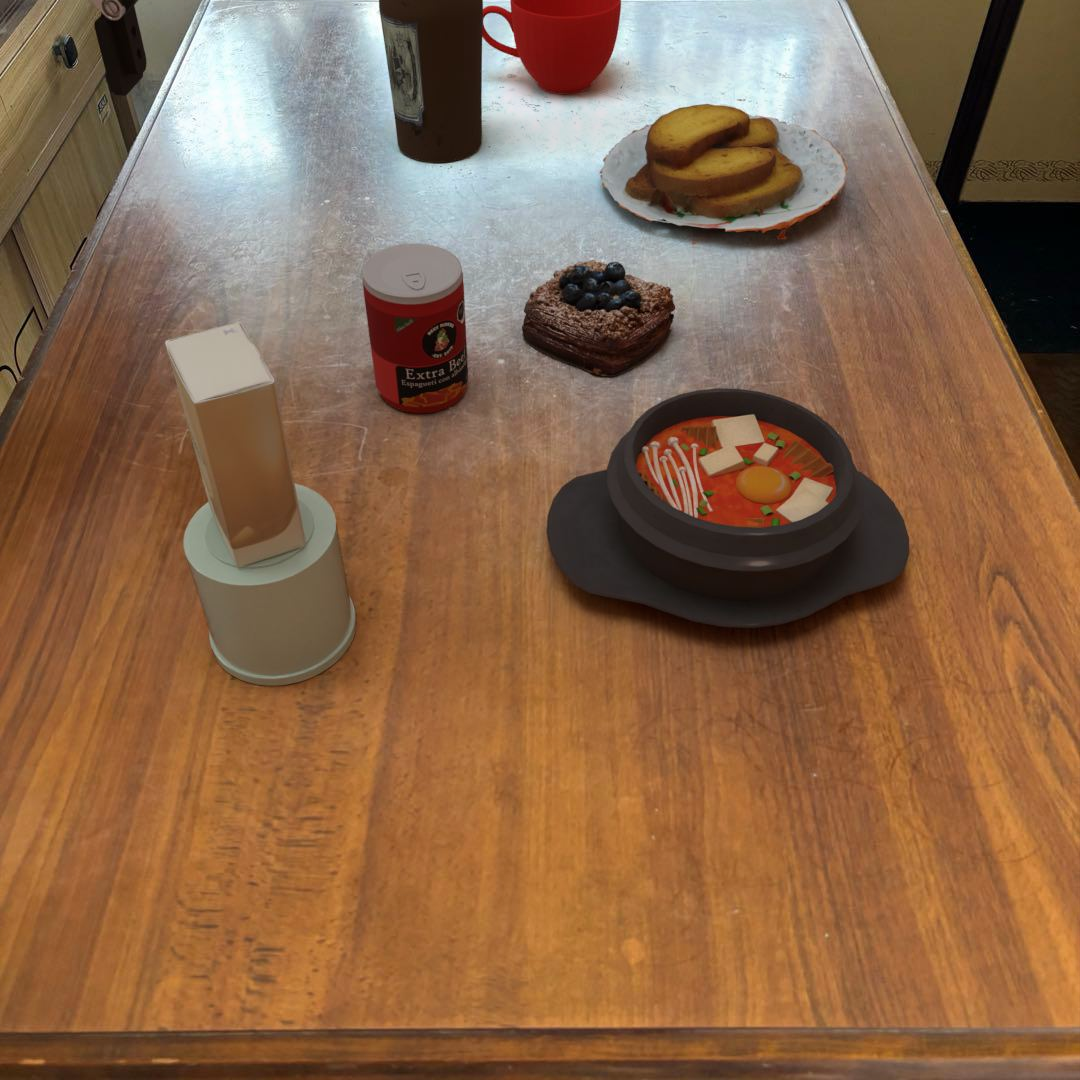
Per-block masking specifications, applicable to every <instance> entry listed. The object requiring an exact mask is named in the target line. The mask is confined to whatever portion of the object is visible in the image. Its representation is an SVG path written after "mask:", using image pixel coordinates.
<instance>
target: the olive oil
mask: <svg viewBox="0 0 1080 1080" xmlns="http://www.w3.org/2000/svg"><path fill="white" fill-rule="evenodd" d="M483 9H484V0H378V10H379V16H380V23H381V30H382V37H383V43H384V51H385V56H386V57H385V58H386V65H387V70H388V71H387V73H388V79H389V86H390V94H391V101H392V109H393V115H394V124H395V132H396V140H397V141H396V142H397V146H398V149H399V150H400V152H401V153H402V154H404V155H405V156H407V157H408V158H411V159H413V160H416V161H420V162H426V163H427V162H428V163H449V162H455V161H459V160H462V159H463V160H464V159H466V158H468V157H471V156H472V155H474V154H475V153H477V152H478V151H479V149H480V148H481V147H482V144H483V127H482V126H483V120H482V119H483V117H482V114H483V113H482V111H483V109H482V108H483V106H482V105H483V104H482V100H483V99H482V98H483V97H482V96H483V95H482V94H483V93H482V92H483V90H482V89H483V86H482V84H483V83H482V82H483V37H482V28H483V24H484V19H483Z"/></svg>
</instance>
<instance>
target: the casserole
mask: <svg viewBox="0 0 1080 1080" xmlns="http://www.w3.org/2000/svg"><path fill="white" fill-rule="evenodd" d="M546 519H547V521H546V539H547V541H548V545H549V550H550V554H551V556H552V557H553V559H554V561H555V563H556V565H557V567H558V569H559V570H560V571H561V573H562V574H563V575H564V576H565V577H566V578H567V580H569V581H570V583H571V584H573V585H574V586H576V587H578V588H580V589H581V590H583V591H585V592H586V593H588V594H589V595H596V596H600V597H601V596H602V597H605V598H611V599H616V600H620V601H626V602H632V603H636V604H641V605H645V606H648V607H650V608H653V609H657V610H659V611H662V612H664V613H668V614H670V615H674V616H677V617H679V618H683V619H685V620H689V621H691V622H694V623H700V624H704V625H705V624H706V625H709V626H710V625H711V626H716V627H723V628H741V629H742V628H743V629H745V628H746V629H756V628H763V627H772V626H780V625H784V624H787V623H791V622H794V621H797V620H801V619H805V618H808V616H811V615H813V614H814V613H817V612H818V611H821V610H822V609H824V608H826V607H828V606H830V605H832V604H834V603H836V602H837V601H839V600H841V599H843V598H845V597H848V596H850V595H853V594H857V593H861V592H863V591H864V592H865V591H868V590H871V589H874V588H877V587H879V586H882V585H885V584H888V583H891V582H893V581H895V580H896V578H897V577H899V576H900V575H901V574H902V573H903V572H904V571H905V569H906V566H907V563H908V561H909V557H910V536H909V534H908V530H907V526H906V523H905V519H904V517H903V516H902V514H901V512H900V510H899V509H898V507H897V505H896V504H895V502H894V501H893V500H892V498H890V496H889V495H888V494H887V493H886V491H885V490H883V488H882V487H881V486H879V485H878V483H876V482H874V481H873V480H872V479H871V478H870V477H868V476H867V475H866V474H864V473H863V472H862V471H859V470H858V469H857V467H856V465H855V464H854V461H853V457H852V452H851V451H850V449H849V447H848V445H847V444H846V442H845V440H844V438H843V437H842V436H841V435H840V434H839V433H838V431H837V430H835V428H834V427H833V426H832V425H831V424H830V423H828V421H826V420H824V419H823V418H822V417H821V416H820V415H818V414H817V413H815V412H813V411H811V410H810V409H808V408H806V407H805V406H803V405H801V404H799V403H796V402H793V401H791V400H788V399H786V398H784V397H781V396H777V395H773V394H771V393H770V394H769V393H767V392H762V391H757V390H749V389H743V388H742V389H741V388H721V387H720V388H719V387H717V388H709V389H698V390H694V391H689V392H685V393H680V394H677V395H675V396H672V397H670V398H666V399H665V400H662V401H659V402H658V403H657V404H655V405H654V406H652V407H650V408H649V409H647V410H646V411H644V412H643V414H641V415H640V416H639V417H638V418H637V419H635V421H634V423H633V425H632V426H631V428H630V429H629V430H628V431H627V432H626V433H625V434H624V435H623V436H622V437H621V438H620V439H619V441H618V443H617V444H616V445H615V447H614V448H613V450H612V452H611V454H610V457H609V461H608V464H607V467H606V469H602V470H598V471H594V472H590V473H586V474H582V475H578V476H576V477H574V478H572V479H571V480H569V481H567V482H566V483H565V484H563V485H562V486H561V488H559V490H558V491H557V493H556V494H555V496H554V497H553V498H552V502H551V504H550V507H549V510H548V513H547V518H546Z"/></svg>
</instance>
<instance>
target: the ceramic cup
mask: <svg viewBox="0 0 1080 1080" xmlns="http://www.w3.org/2000/svg"><path fill="white" fill-rule="evenodd" d="M509 3H510V11H509V10H508V9H506V8H504V7H502V6H498V5H488V6H485V7H483V20H484V19H485V17H486V16H487V15H489V14H497V15H500V16H502V17H503V18H504V20H506V21H507V23H508V25H509V27H510V29H511V32H512V33H513V39H514V44H515V47H511V46H509V45H506V44H504V43H502V42H499V41H498V40H496V39H495V38H493V37H492V36H491V35H490V34H489V32H488V31H487V29H486V28H485V25H484V23H483V28H482V39H483V41H485V42H486V43H487V44H488V45H489V46H490V47H492V48H493V49H495V50H497V51H499V52H502V53H504V54H506V55H509V56H512V57H515V58H519V59H520V62H521V63H522V65H523V67H524V69H525V70H526V72H527V73H528V74H529V76H530V77H531V78H532V80H534V82H536V84H537V85H538V87H539V88H540V89H542V90H543V91H546V92H548V93H552V94H557V95H558V94H559V95H572V94H578V93H581V92H584V91H586V90H588V89H589V88H590V87H591V86H592V84H593V83H594V82H595V81H596V80H597V79H598V78H599V76H600V75H601V74H602V73H603V72H604V70H605V69H606V67H607V66H608V64H609V62H610V60H611V58H612V55H613V52H614V49H615V46H616V42H617V39H618V32H619V28H620V27H619V26H620V20H621V19H620V17H621V11H622V0H510V2H509Z"/></svg>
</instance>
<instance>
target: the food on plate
mask: <svg viewBox="0 0 1080 1080" xmlns="http://www.w3.org/2000/svg"><path fill="white" fill-rule="evenodd" d="M602 162H604V163H603V164H604V165H603V166H602V168H601V169H600V171H599V174H600V179H601V181H602V184H601V186H602V187H603V188H606V189H607V191H608V192H609V194H610V196H611V197H612V198H613V201H615V202H617V203H618V207H620V208H622V209H624V210H627V211H629V213H631V214H634V215H635V216H637V217H639V218H641V219H645V220H646V221H649V222H655V221H656V222H661V223H667V224H674V225H676V226H689V227H696V228H703V229H725V230H724V232H736V233H741V232H742V233H743V232H746V231H751V232H752V231H755V232H756V233H757V232H759V231H761V233H762V234H765V233H766V232H767V231H771V230H781V231H780V233H779V234H778V235H776V236H775V238H777V239H778V240H787V239H786V238H787V237H786V231H787V230H788V228H790V227H792V226H793V225H794V224H796V223H797V222H802V221H803V220H805V219H806V218H807V217H809V216H811V215H815V214H816V213H818V212H820V211H821V210H822V209H823V207H824V206H827V205H829V204H830V201H831V200H835V199H836V198H837V196H838V194H841V193H842V189H844V185H845V184H846V181H847V180H846V176H847V171H849V170H848V166H847V165H846V161H845V158H844V156H842V155H841V152H840V151H839V150H838V149H837V148H836V147H835V146H834V145H833V144H832V142H831V141H830V140H828V139H824V138H823V137H822V136H821V135H820V134H819V133H818V132H817V131H816V130H815V129H807V128H805V127H803V126H801V125H799V124H796V123H790V124H788V123H786V122H785V121H780V120H779V119H778V118H774V117H768V116H763V115H757V114H756V115H752V114H749V113H747V112H745V111H743V109H740V108H737V107H734V106H729V105H718V104H717V105H716V104H710V103H703V104H701V103H700V104H694V105H689V106H683V107H678V108H676V109H673V110H671V111H669V112H667V113H664V114H662V115H660V117H658V118H657V119H656V120H655V121H654V122H653V123H652V124H645V126H644V127H643V128H642V127H641V128H640V129H634V130H632V132H631V133H629V134H627V135H626V136H625V137H623V138H622V139H621V140H620V141H619V142H617V143H616V144H614V146H613V147H612V148H611V149H610V150H609V151H608V154H606V155H605V157H604V158H603V159H602ZM664 220H665V221H664ZM782 229H783V230H782ZM697 244H698V243H697V242H696V241H693V242H691V245H697Z"/></svg>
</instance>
